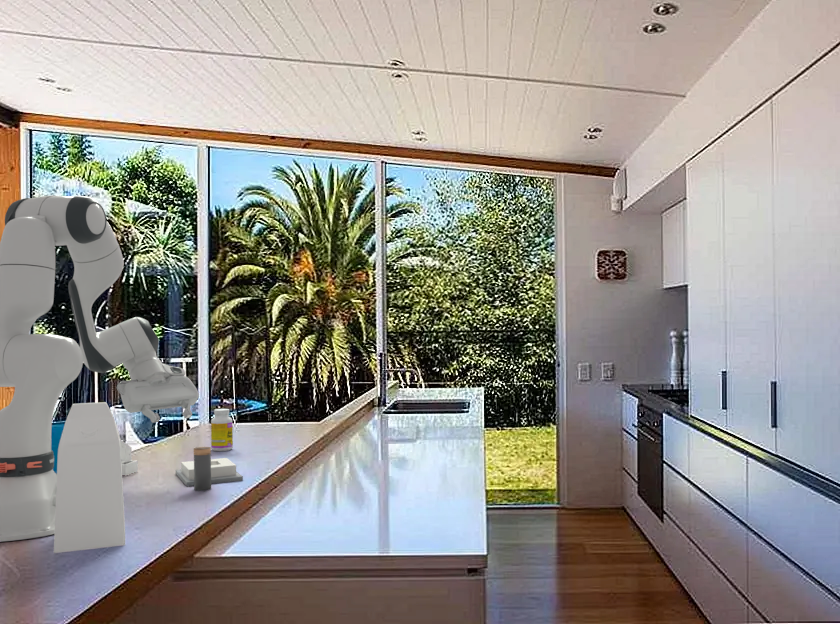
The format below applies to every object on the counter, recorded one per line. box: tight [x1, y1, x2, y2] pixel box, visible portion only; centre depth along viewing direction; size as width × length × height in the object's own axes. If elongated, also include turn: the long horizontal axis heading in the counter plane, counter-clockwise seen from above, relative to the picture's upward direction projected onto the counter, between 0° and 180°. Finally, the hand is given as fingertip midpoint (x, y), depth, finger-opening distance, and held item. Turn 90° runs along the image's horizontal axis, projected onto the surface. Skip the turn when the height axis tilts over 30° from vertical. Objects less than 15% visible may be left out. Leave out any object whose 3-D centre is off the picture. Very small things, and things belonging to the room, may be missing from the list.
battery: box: [193, 446, 212, 492], centre depth 189 cm, size 4×4×10 cm
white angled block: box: [120, 439, 139, 476], centre depth 209 cm, size 4×10×9 cm, turn 168°
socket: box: [175, 457, 244, 487], centre depth 204 cm, size 18×14×4 cm
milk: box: [53, 401, 126, 554], centre depth 146 cm, size 12×12×26 cm
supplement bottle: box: [210, 408, 234, 452], centre depth 246 cm, size 7×7×13 cm
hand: (173, 418), depth 197 cm, fingers open, 8 cm apart
